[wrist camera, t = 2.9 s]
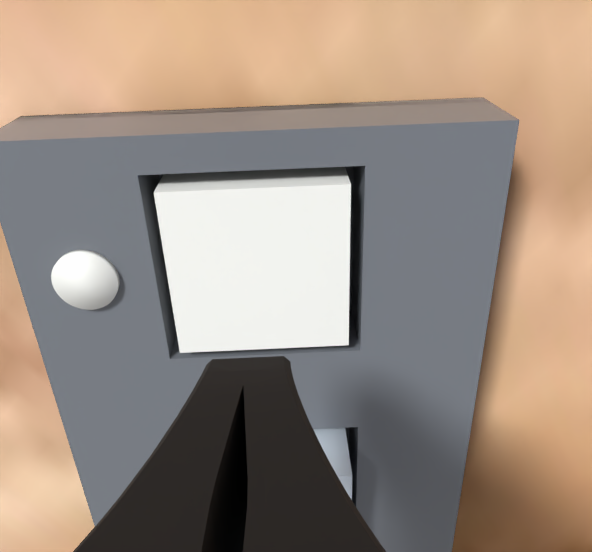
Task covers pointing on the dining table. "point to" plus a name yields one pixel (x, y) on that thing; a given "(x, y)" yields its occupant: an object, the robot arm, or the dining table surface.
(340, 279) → the key cream
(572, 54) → the dining table surface
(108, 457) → the grey flat block
